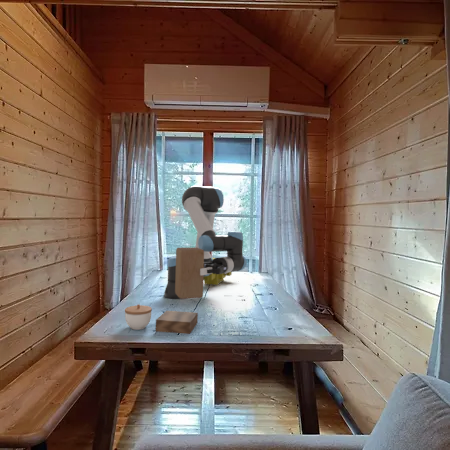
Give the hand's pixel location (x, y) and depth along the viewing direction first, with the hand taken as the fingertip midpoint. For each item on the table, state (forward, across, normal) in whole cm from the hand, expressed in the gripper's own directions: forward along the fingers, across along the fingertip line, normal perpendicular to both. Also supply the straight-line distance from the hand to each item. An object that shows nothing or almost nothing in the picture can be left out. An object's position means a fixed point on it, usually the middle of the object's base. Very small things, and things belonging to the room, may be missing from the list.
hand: (189, 270), depth 143 cm
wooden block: (0, 0, -11) cm, 11 cm away
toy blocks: (-80, +53, -24) cm, 99 cm away
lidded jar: (+14, +14, -24) cm, 31 cm away
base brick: (+3, +3, -24) cm, 25 cm away
